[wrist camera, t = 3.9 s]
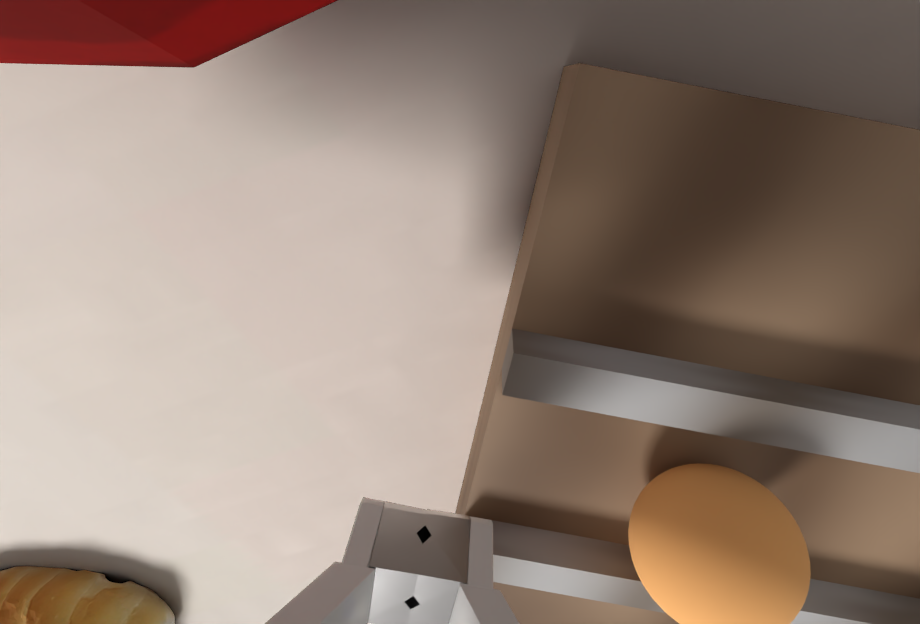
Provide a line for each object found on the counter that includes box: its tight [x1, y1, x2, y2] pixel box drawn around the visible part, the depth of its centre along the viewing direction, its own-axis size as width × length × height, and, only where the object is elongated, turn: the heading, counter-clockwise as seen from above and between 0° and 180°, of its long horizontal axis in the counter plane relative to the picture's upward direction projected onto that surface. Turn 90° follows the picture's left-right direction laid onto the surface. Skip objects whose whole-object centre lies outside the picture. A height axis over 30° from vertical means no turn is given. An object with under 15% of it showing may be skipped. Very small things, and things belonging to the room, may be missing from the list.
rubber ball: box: [628, 463, 811, 624], centre depth 12 cm, size 4×4×4 cm
